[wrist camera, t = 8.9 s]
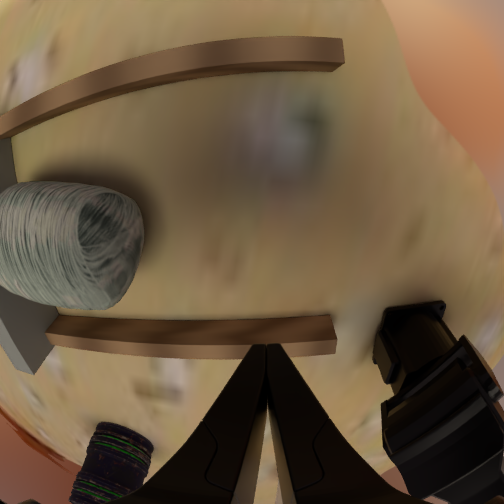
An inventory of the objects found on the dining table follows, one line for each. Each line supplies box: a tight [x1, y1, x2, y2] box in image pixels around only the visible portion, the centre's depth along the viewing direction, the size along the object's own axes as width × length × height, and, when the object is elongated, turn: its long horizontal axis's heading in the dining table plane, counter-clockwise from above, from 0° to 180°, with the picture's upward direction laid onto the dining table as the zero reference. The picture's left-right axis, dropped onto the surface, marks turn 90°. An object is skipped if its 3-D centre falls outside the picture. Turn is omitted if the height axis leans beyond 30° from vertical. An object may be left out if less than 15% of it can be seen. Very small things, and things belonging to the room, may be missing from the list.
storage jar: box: [69, 422, 154, 504], centre depth 28 cm, size 10×10×15 cm
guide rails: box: [0, 36, 345, 359], centre depth 18 cm, size 26×21×3 cm
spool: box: [0, 181, 144, 310], centre depth 16 cm, size 14×10×10 cm
